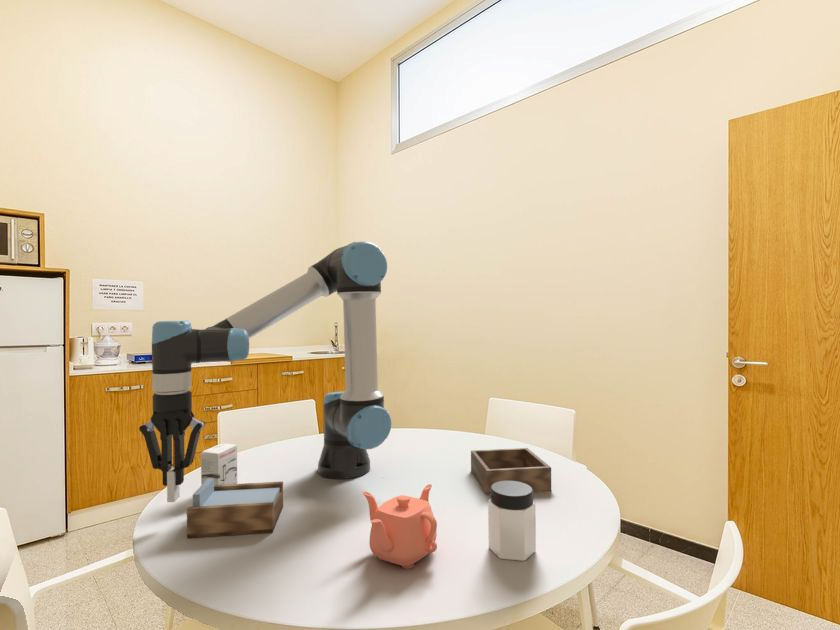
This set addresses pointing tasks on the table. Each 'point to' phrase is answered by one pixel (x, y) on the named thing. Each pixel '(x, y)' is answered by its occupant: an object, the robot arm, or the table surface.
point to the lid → (232, 495)
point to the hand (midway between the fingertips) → (173, 499)
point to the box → (235, 515)
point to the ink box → (220, 464)
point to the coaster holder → (510, 468)
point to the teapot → (402, 528)
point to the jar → (512, 520)
